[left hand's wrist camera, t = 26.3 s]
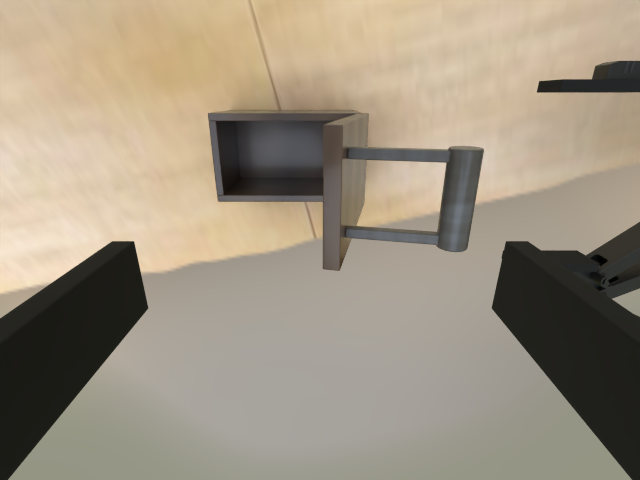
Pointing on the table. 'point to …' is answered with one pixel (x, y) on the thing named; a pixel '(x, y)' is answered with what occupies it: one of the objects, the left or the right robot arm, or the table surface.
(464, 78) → the table surface
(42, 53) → the table surface
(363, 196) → the lid
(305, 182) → the chest
